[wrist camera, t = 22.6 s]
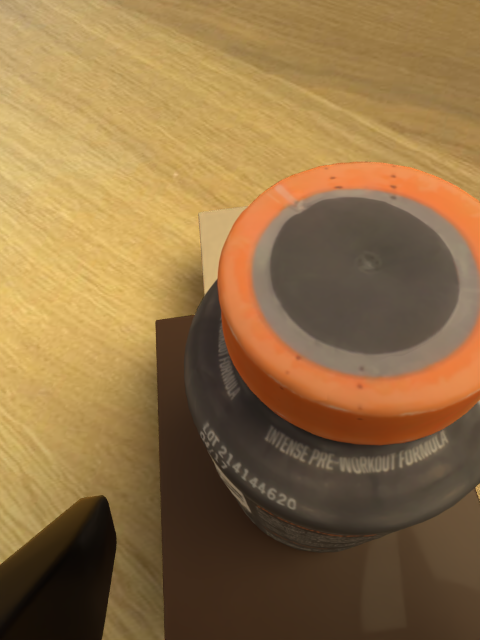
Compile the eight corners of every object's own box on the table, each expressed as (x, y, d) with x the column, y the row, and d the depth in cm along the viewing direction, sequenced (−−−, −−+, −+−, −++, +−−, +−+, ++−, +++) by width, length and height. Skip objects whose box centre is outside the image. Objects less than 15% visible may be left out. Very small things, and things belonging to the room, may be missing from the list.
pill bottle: (424, 420, 16) (670, 175, 6) (362, 592, 14) (596, 662, 4) (273, 351, 18) (267, 71, 8) (194, 494, 15) (41, 357, 5)
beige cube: (322, 286, 19) (302, 198, 21) (204, 300, 19) (198, 211, 21) (313, 339, 23) (298, 261, 26) (217, 351, 23) (211, 272, 26)
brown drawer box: (468, 631, 17) (534, 653, 13) (194, 667, 17) (166, 702, 13) (379, 339, 23) (404, 285, 19) (178, 366, 23) (154, 319, 19)
